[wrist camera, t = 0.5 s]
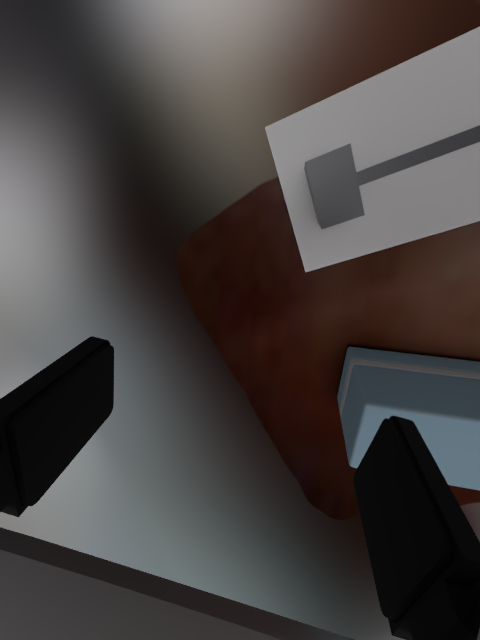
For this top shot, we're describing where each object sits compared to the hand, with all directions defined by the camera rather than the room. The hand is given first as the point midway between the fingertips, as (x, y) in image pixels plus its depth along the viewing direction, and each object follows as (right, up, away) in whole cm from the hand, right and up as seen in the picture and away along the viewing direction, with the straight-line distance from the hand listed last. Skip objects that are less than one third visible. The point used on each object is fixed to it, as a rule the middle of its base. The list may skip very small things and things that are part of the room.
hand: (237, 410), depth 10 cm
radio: (+21, -5, +27) cm, 34 cm away
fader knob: (+8, +15, +17) cm, 24 cm away
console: (+18, +19, +17) cm, 31 cm away
